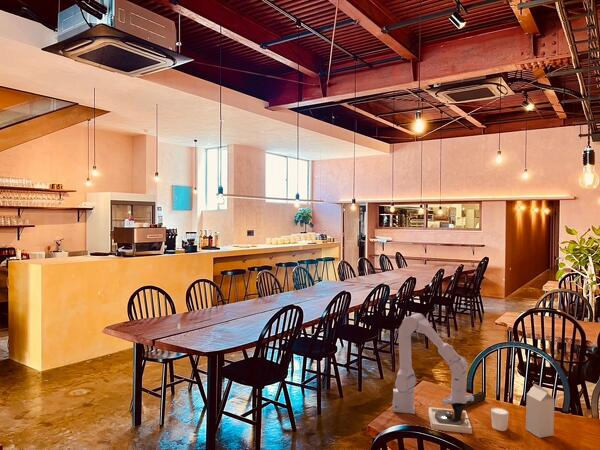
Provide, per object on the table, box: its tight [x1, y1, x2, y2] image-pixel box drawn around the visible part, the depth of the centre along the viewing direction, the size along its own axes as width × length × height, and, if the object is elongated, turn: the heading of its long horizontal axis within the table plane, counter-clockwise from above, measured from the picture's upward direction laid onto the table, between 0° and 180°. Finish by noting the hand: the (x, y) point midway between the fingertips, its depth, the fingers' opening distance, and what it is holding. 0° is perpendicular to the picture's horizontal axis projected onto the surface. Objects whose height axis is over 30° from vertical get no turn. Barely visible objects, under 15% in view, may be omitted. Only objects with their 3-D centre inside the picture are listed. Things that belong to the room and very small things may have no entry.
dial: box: [435, 410, 467, 425], centre depth 187 cm, size 12×12×4 cm
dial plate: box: [427, 406, 473, 435], centre depth 188 cm, size 16×16×2 cm
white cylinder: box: [490, 407, 510, 432], centre depth 183 cm, size 7×7×7 cm
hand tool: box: [464, 391, 486, 409], centre depth 205 cm, size 19×4×5 cm, turn 122°
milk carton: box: [525, 383, 555, 439], centre depth 179 cm, size 7×7×19 cm
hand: (457, 419), depth 184 cm, fingers closed, pressing on dial
